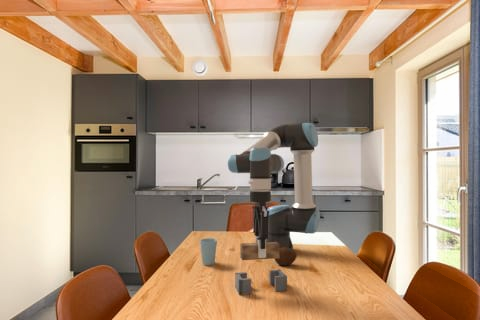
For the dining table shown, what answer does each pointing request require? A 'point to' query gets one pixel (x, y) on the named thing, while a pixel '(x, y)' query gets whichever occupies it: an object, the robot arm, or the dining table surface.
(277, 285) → the endcap
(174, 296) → the dining table surface
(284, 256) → the potato
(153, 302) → the dining table surface
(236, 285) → the endcap
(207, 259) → the cup
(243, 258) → the dark brown block
